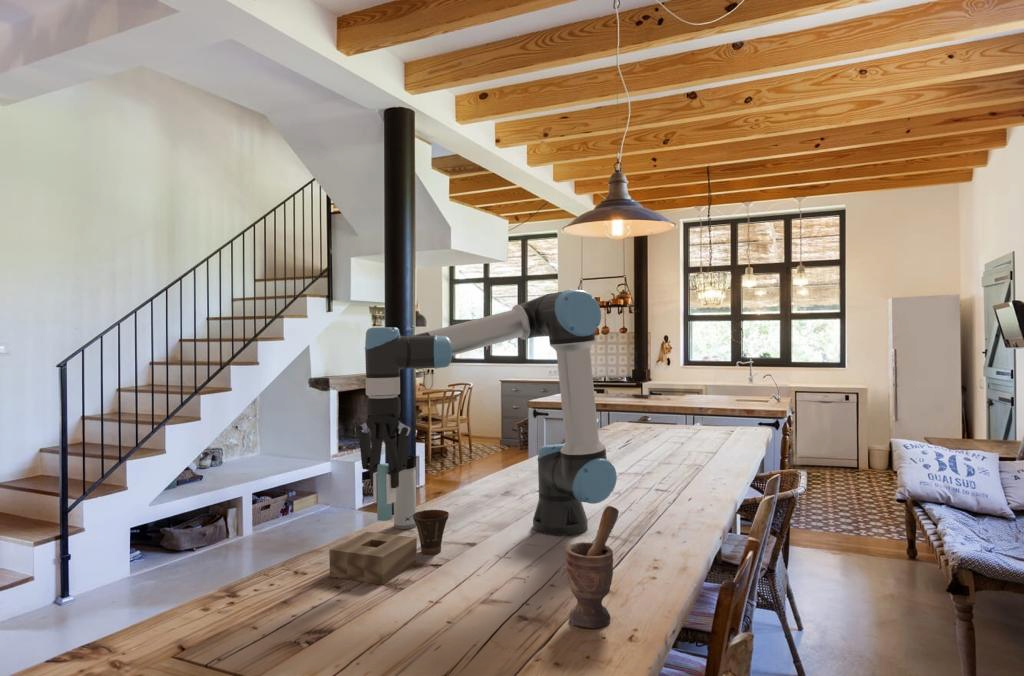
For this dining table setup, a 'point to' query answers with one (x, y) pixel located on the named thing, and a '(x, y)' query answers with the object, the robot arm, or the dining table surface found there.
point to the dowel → (382, 494)
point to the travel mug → (406, 497)
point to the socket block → (373, 557)
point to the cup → (430, 529)
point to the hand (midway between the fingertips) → (384, 501)
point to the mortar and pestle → (592, 574)
